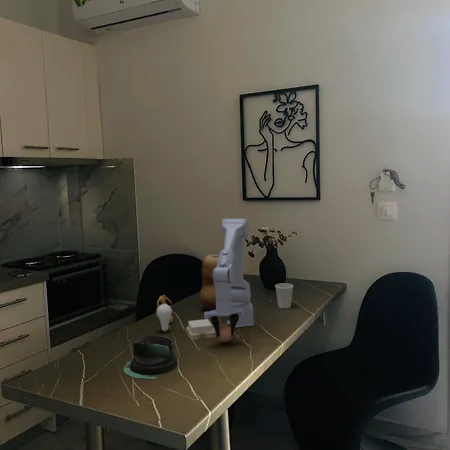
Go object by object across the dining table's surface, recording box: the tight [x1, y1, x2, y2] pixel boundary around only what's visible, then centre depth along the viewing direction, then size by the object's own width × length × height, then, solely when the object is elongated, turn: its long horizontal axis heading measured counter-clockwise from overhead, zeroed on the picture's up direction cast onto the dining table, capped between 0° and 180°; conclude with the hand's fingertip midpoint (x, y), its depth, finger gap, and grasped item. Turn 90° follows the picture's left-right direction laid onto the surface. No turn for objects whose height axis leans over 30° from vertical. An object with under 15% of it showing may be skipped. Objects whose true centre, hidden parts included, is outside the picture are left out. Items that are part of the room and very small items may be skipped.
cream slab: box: [187, 318, 214, 334], centre depth 184 cm, size 8×8×2 cm
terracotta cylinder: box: [217, 323, 232, 342], centre depth 173 cm, size 5×5×5 cm
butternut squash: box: [199, 253, 219, 311], centre depth 214 cm, size 14×13×25 cm
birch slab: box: [185, 325, 218, 341], centre depth 184 cm, size 10×10×2 cm
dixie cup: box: [274, 282, 294, 310], centre depth 216 cm, size 8×8×10 cm
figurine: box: [156, 294, 174, 324], centre depth 198 cm, size 8×6×12 cm
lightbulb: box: [156, 303, 173, 332], centre depth 188 cm, size 6×6×11 cm
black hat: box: [122, 335, 180, 380], centre depth 155 cm, size 20×20×9 cm
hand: (224, 335), depth 173 cm, fingers closed on terracotta cylinder, 5 cm apart
